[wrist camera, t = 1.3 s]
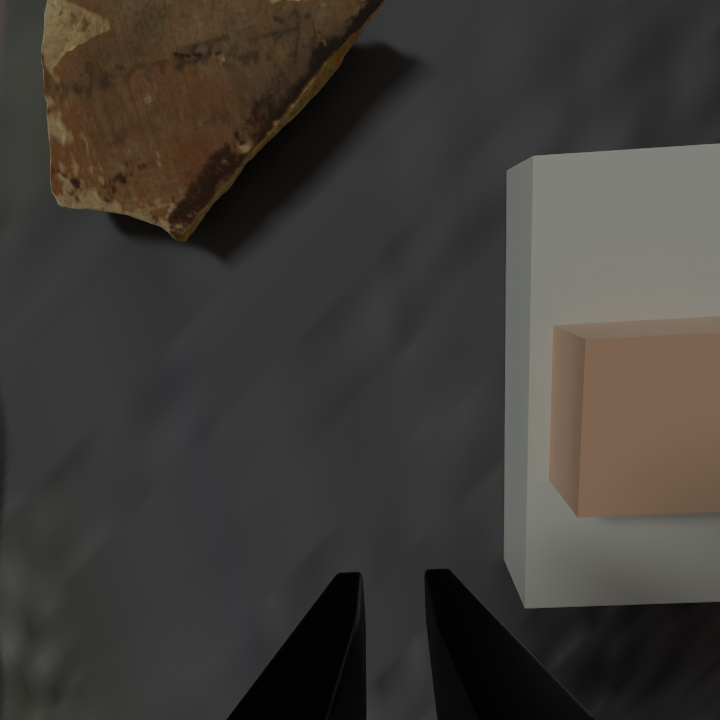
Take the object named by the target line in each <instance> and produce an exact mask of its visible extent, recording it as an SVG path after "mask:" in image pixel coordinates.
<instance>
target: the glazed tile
mask: <svg viewBox="0 0 720 720" xmlns="http://www.w3.org/2000/svg"><path fill="white" fill-rule="evenodd" d="M549 481H550V482H551V483H552V485H553V486H554V487H555V488H556V490H557V491H558V492H559V494H560V495H561V496H562V498H563V499H564V500H565V502H566V503H567V504H568V506H569V507H570V508H571V509H572V511H573V512H574V513H575V515H576V516H577V517H578V518H580V517H605V516H629V515H653V514H677V513H702V512H720V316H714V317H696V318H677V319H659V320H640V321H622V322H604V323H585V324H567V325H553V349H552V384H551V418H550V452H549Z"/></svg>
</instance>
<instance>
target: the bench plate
mask: <svg viewBox="0 0 720 720" xmlns="http://www.w3.org/2000/svg"><path fill="white" fill-rule="evenodd" d="M714 316H720V144H706V145H691V146H676V147H661V148H646V149H631V150H616V151H600V152H585V153H570V154H555V155H540V156H532V157H530V158H529V159H527V160H525V161H523V162H521V163H520V164H518V165H516V166H514V167H512V168H511V169H509V170H507V202H506V339H505V476H504V561H505V563H506V565H507V568H508V570H509V572H510V575H511V577H512V579H513V582H514V584H515V586H516V589H517V591H518V593H519V596H520V598H521V601H522V603H523V605H524V608H551V607H579V606H608V605H636V604H665V603H693V602H720V512H702V513H677V514H653V515H629V516H605V517H580V518H578V517H577V516H576V515H575V513H574V512H573V511H572V509H571V508H570V507H569V506H568V504H567V503H566V502H565V500H564V499H563V498H562V496H561V495H560V494H559V492H558V491H557V490H556V488H555V487H554V486H553V485H552V483H551V482H550V481H549V452H550V418H551V384H552V349H553V325H567V324H585V323H604V322H622V321H640V320H659V319H677V318H696V317H714Z"/></svg>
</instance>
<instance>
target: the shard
mask: <svg viewBox="0 0 720 720" xmlns="http://www.w3.org/2000/svg"><path fill="white" fill-rule="evenodd" d="M383 2H384V0H47V5H46V10H45V13H44V33H43V42H42V48H41V63H42V66H43V82H44V96H45V99H46V101H47V121H48V133H49V142H50V153H51V160H50V182H51V190H52V193H53V195H54V197H55V198H56V200H57V202H58V205H60V206H62V207H66V208H74V209H91V210H95V211H104V212H110V213H118V214H124V215H129V216H131V217H134V218H136V219H140V220H143V221H146V222H148V223H151V224H153V225H157V226H160V227H162V228H163V229H165V230H166V231H167V232H168V233H169V234H170V235H171V236H172V237H173V238H175V239H176V240H177V241H181V242H184V241H187V239H188V238H189V236H190V235H191V234H192V233H193V232H194V231H195V230H196V228H197V226H198V225H199V223H200V222H201V221H202V220H203V219H204V217H205V215H206V213H207V212H208V211H209V210H210V208H211V207H212V205H213V204H214V203H215V202H216V201H217V200H218V199H219V197H220V196H221V195H222V194H224V193H225V192H227V191H228V190H229V189H230V187H231V186H232V185H233V183H234V181H235V180H236V179H237V177H238V176H239V174H240V173H241V171H242V169H243V168H244V166H245V165H246V163H247V162H249V161H250V160H251V159H252V158H253V157H254V156H255V155H256V154H257V153H258V152H259V151H260V150H261V149H262V148H263V147H264V146H265V144H266V143H267V142H268V141H270V140H271V139H272V138H273V137H274V136H275V135H276V134H277V133H278V132H279V131H280V130H281V129H282V128H283V127H284V126H285V125H286V124H287V123H289V122H290V121H291V120H292V119H294V118H295V117H296V116H297V115H298V114H299V112H300V111H301V110H302V109H303V108H304V107H305V106H306V105H307V103H308V102H309V101H310V100H311V99H312V98H313V97H314V96H315V95H316V94H317V93H318V92H319V91H320V90H321V89H322V88H323V86H324V85H325V84H326V83H327V81H328V80H329V78H330V77H331V76H332V75H333V74H334V72H335V71H336V70H337V69H338V68H339V66H340V65H341V63H342V61H343V59H344V56H345V55H346V53H347V52H348V51H349V49H350V48H351V46H352V45H353V44H354V42H355V41H356V40H357V38H358V37H359V35H360V34H361V32H362V31H363V28H364V27H365V26H366V25H367V24H368V22H369V21H370V20H371V19H372V18H373V17H374V16H375V14H376V13H377V12H378V10H379V8H380V7H381V5H382V3H383Z"/></svg>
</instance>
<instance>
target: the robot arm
mask: <svg viewBox="0 0 720 720" xmlns="http://www.w3.org/2000/svg"><path fill="white" fill-rule="evenodd" d="M425 607H426V624H427V634H428V642H429V651H430V660H431V669H432V677H433V686H434V695H435V704H436V712H437V719H438V720H595V719H594V717H593V716H592V715H591V714H590V713H589V712H588V711H587V710H586V709H585V708H584V707H583V706H582V705H581V704H580V703H579V702H578V701H577V700H576V699H575V698H574V697H573V696H572V694H571V693H570V692H569V691H568V690H567V689H566V688H565V687H564V686H563V685H562V684H561V683H560V682H559V681H558V680H557V679H556V678H555V677H554V676H553V675H552V674H551V673H550V672H549V671H548V670H547V669H546V668H545V667H544V666H543V665H542V664H541V663H540V662H539V660H538V659H537V658H536V657H535V656H534V655H533V654H532V653H531V652H530V651H529V650H528V649H527V648H526V647H525V646H524V645H523V644H522V643H521V642H520V641H519V640H518V639H517V638H516V637H515V636H514V635H513V634H512V633H511V632H510V631H509V630H508V629H507V628H506V626H505V625H504V624H503V623H502V622H501V621H500V620H499V619H498V618H497V617H496V616H495V615H494V614H493V613H492V612H491V611H490V610H489V609H488V608H487V607H486V606H485V605H484V604H483V603H482V602H481V601H480V600H479V599H478V598H477V597H476V596H475V595H474V594H473V593H472V591H471V590H470V589H469V588H468V587H467V586H466V585H465V584H464V583H463V582H462V581H461V580H460V579H459V578H458V577H457V576H456V575H455V574H454V573H453V572H452V571H451V570H449V569H428V570H426V572H425ZM227 720H366V623H365V605H364V590H363V578H362V574H361V573H359V572H347V573H338V574H337V575H336V576H335V577H334V578H333V580H332V581H331V582H330V584H329V585H328V586H327V588H326V589H325V590H324V591H323V593H322V594H321V595H320V597H319V598H318V599H317V601H316V602H315V603H314V605H313V606H312V607H311V609H310V610H309V611H308V613H307V614H306V615H305V617H304V618H303V619H302V621H301V622H300V623H299V624H298V626H297V627H296V628H295V630H294V631H293V632H292V634H291V635H290V636H289V638H288V639H287V640H286V642H285V643H284V644H283V646H282V647H281V648H280V650H279V651H278V652H277V654H276V655H275V656H274V658H273V659H272V660H271V661H270V663H269V664H268V665H267V667H266V668H265V669H264V671H263V672H262V673H261V675H260V676H259V677H258V679H257V680H256V681H255V683H254V684H253V685H252V687H251V688H250V689H249V691H248V692H247V693H246V694H245V696H244V697H243V698H242V700H241V701H240V702H239V704H238V705H237V706H236V708H235V709H234V710H233V712H232V713H231V714H230V716H229V717H228V718H227Z"/></svg>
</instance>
